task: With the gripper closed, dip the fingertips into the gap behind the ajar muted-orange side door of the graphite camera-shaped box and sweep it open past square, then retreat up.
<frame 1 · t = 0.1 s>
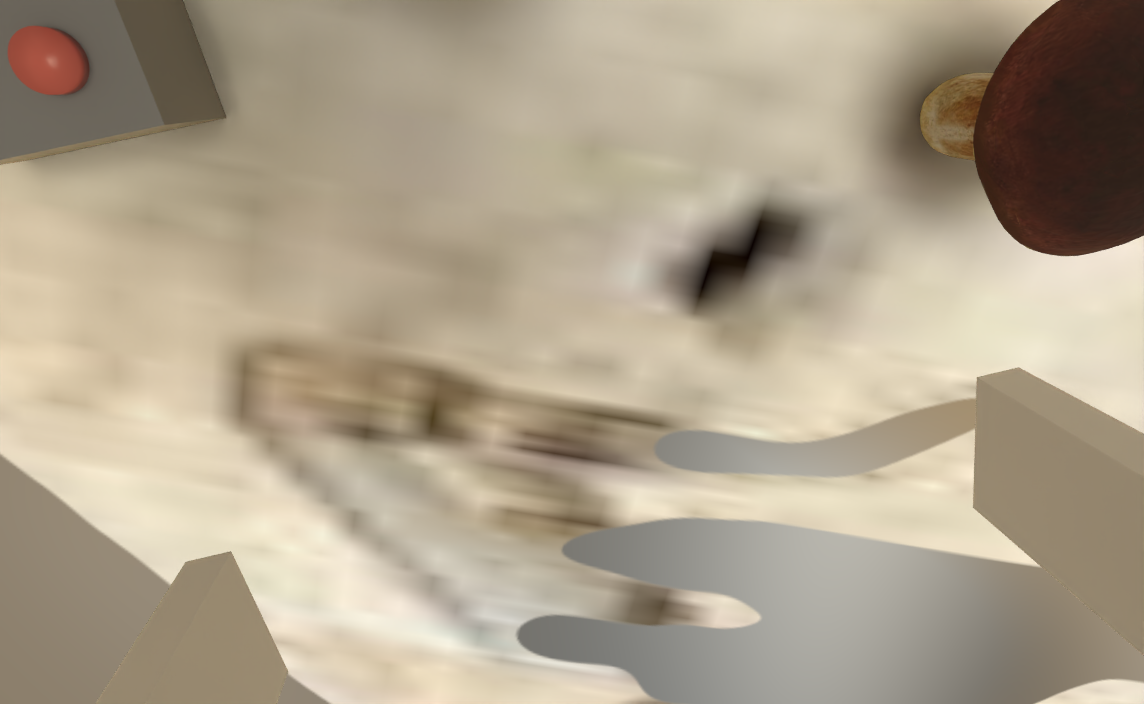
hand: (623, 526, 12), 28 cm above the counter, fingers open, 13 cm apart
decorative mushroom: (941, 114, 39), on the counter
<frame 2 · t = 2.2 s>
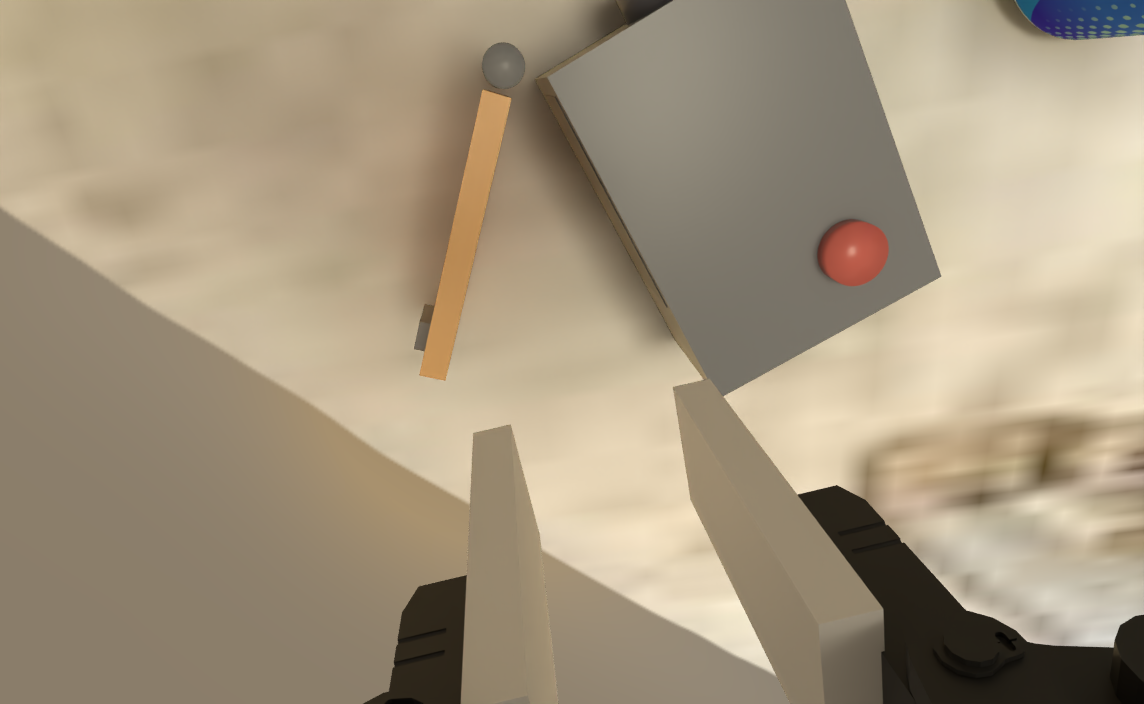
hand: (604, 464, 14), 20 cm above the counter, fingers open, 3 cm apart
camera body: (705, 165, 32), on the counter
side door: (466, 209, 27), point 4 cm above the counter, hinge at 45.0°
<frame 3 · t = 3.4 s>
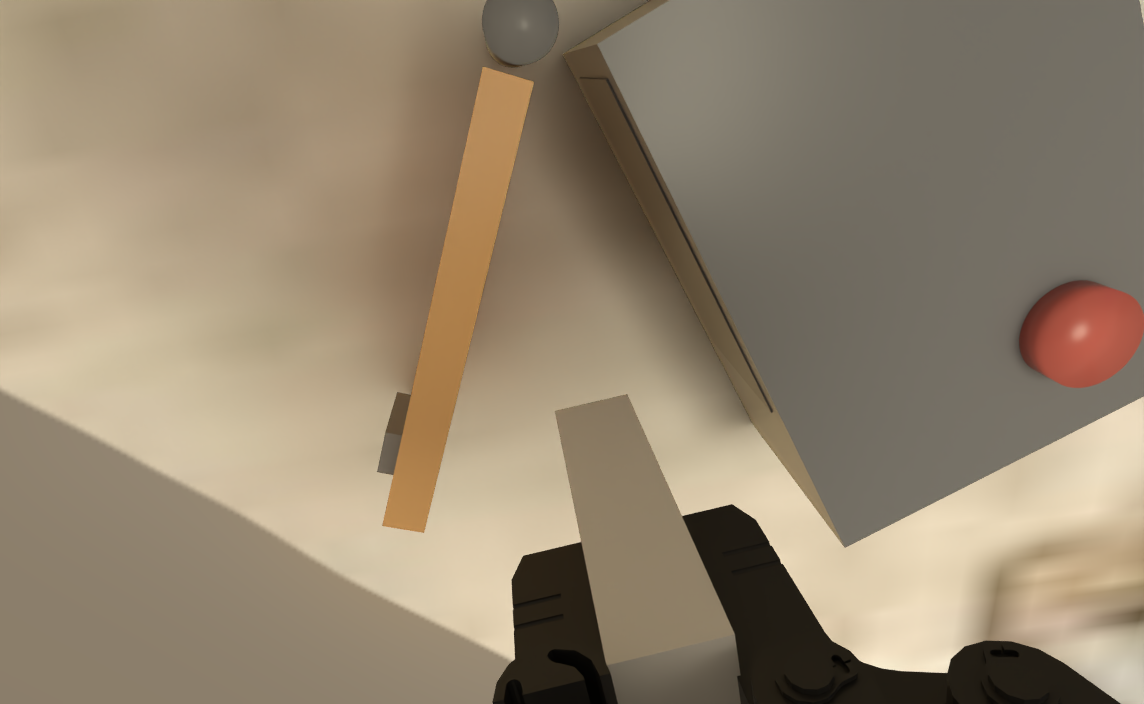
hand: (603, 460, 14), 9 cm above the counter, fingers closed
camera body: (809, 181, 22), on the counter
side door: (458, 258, 17), point 4 cm above the counter, hinge at 45.0°
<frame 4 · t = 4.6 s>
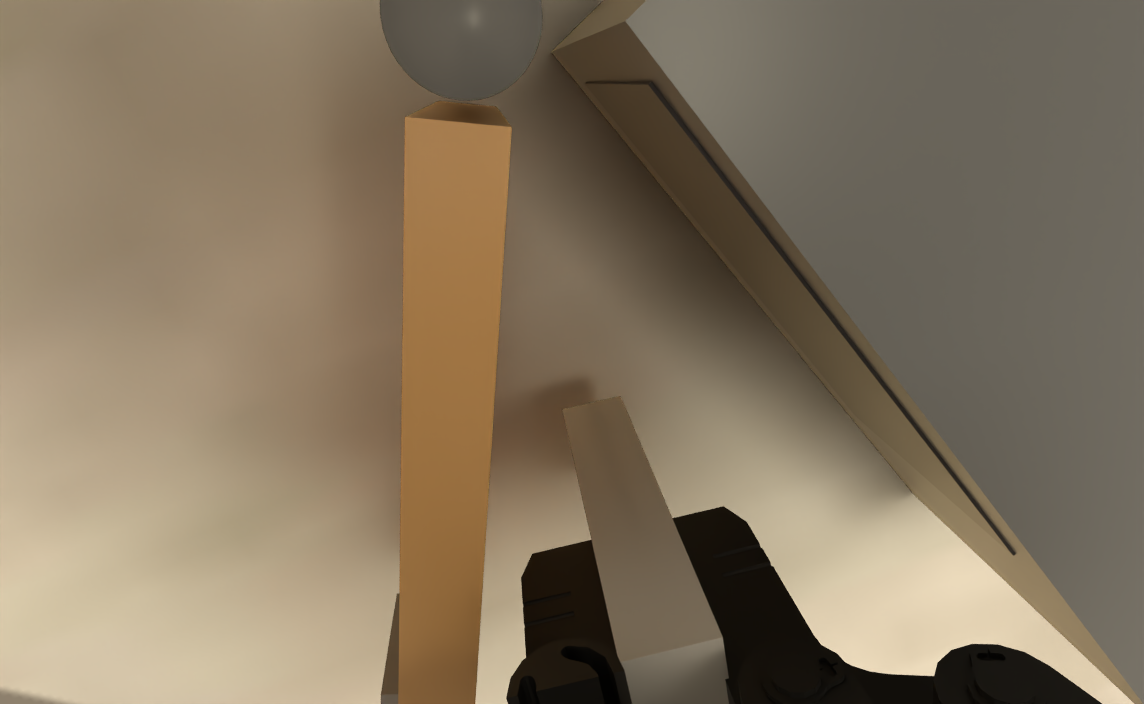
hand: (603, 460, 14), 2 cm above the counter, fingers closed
camera body: (947, 152, 15), on the counter
side door: (444, 410, 11), point 4 cm above the counter, hinge at 47.4°, touching gripper
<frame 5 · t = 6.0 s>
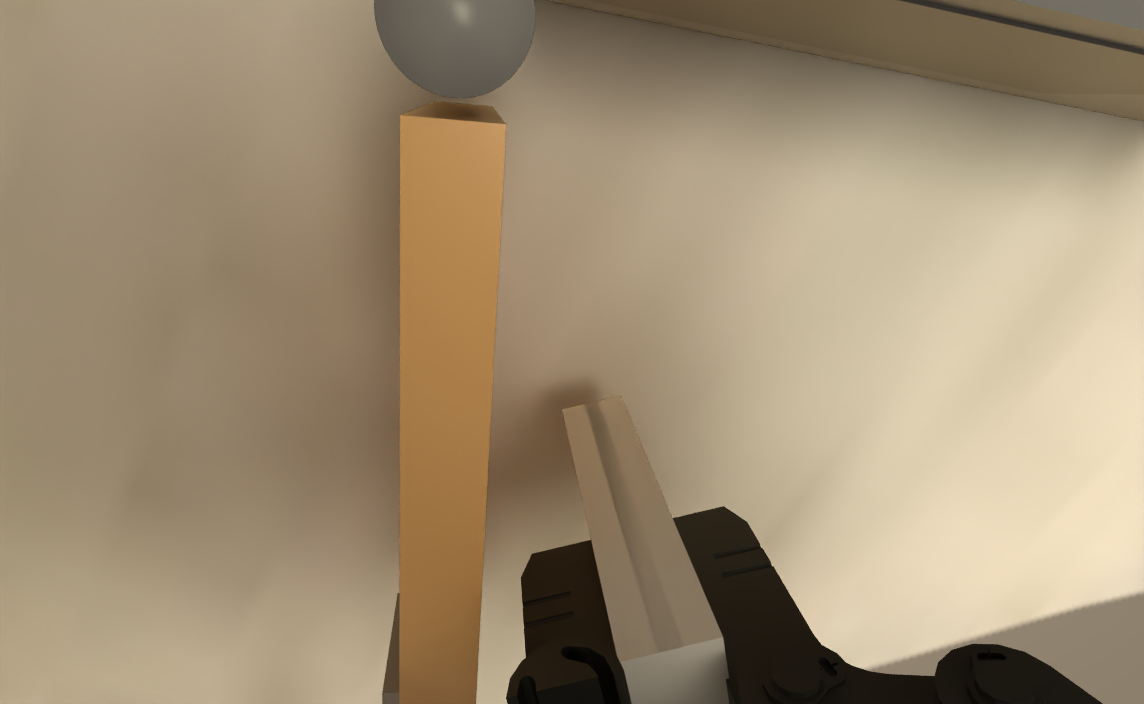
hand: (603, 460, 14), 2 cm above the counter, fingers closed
side door: (443, 408, 11), point 4 cm above the counter, hinge at 85.7°, touching gripper
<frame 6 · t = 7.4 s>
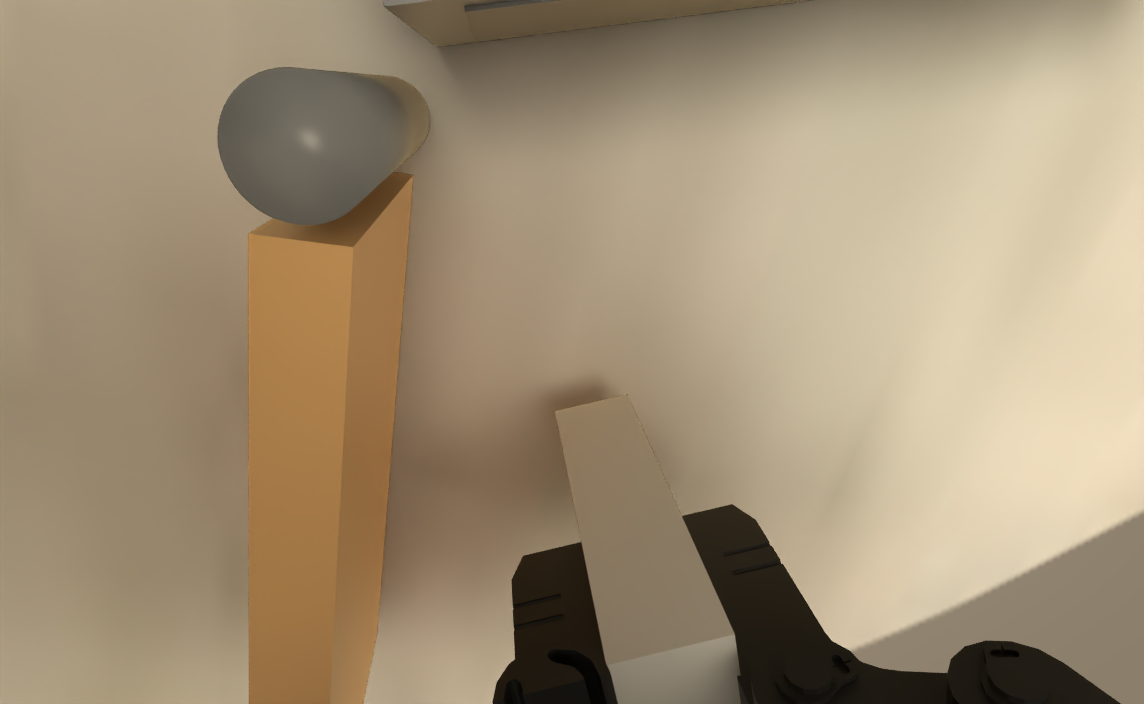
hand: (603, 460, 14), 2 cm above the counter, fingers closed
side door: (333, 473, 11), point 4 cm above the counter, hinge at 106.0°
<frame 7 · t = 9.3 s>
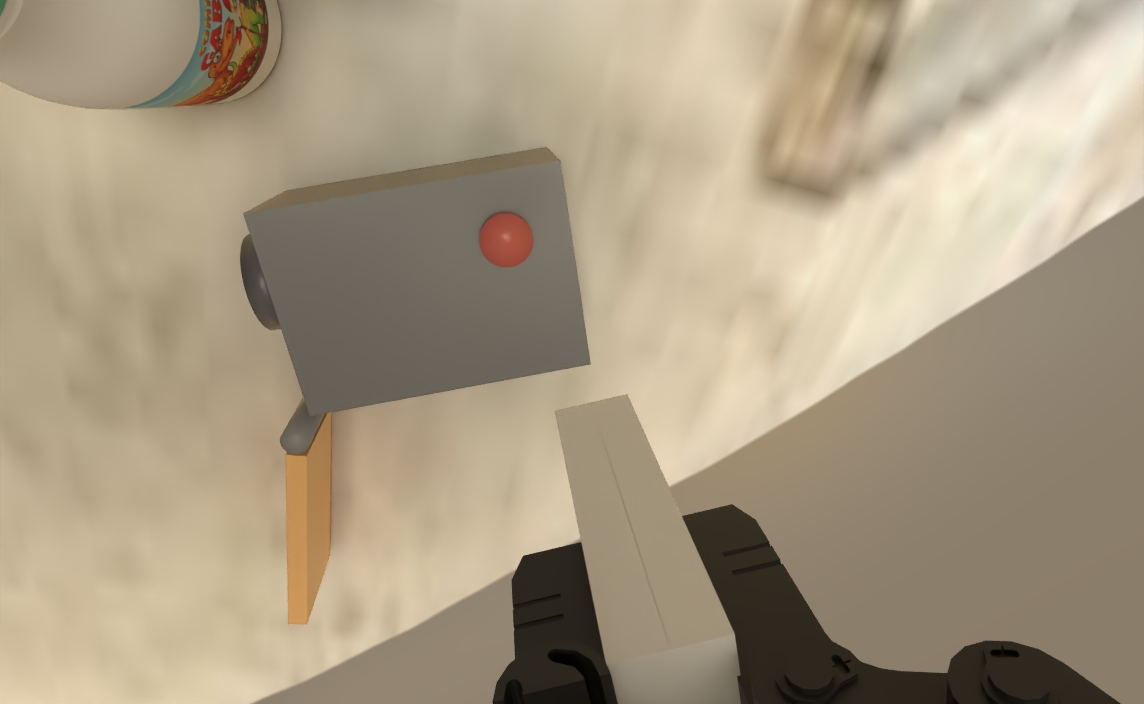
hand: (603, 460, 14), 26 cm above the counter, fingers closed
camera body: (438, 259, 39), on the counter
side door: (307, 499, 39), point 4 cm above the counter, hinge at 106.1°
milk bottle: (203, 19, 33), on the counter
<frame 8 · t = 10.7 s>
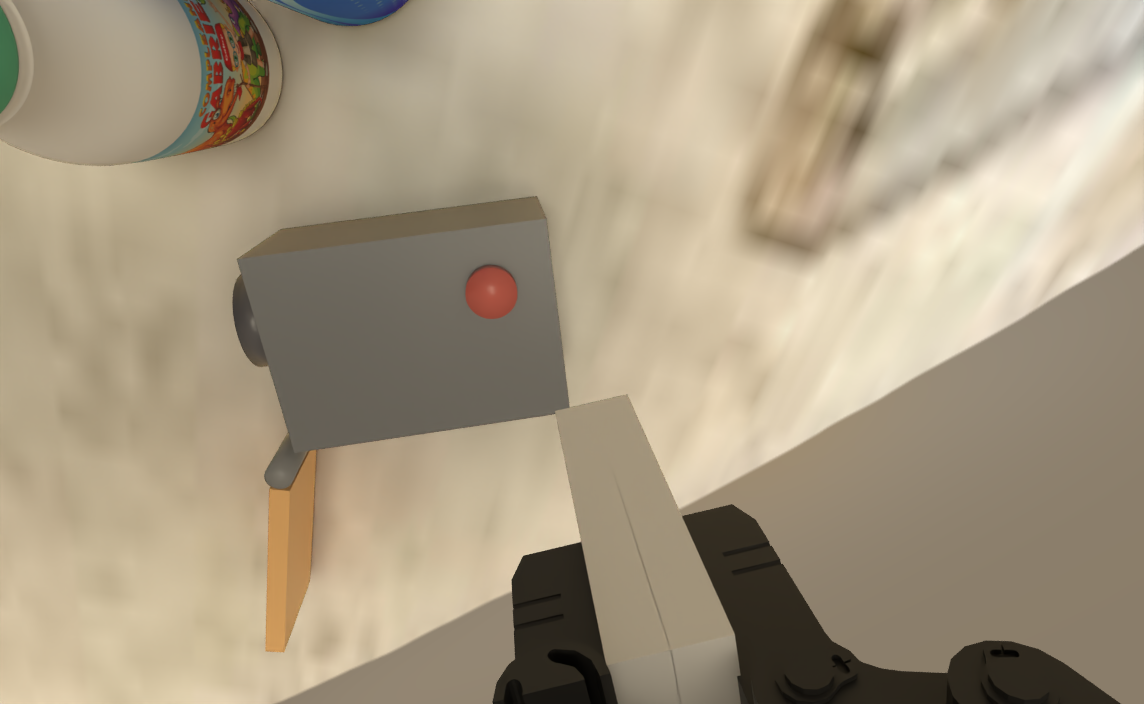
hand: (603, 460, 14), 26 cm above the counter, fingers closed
camera body: (427, 299, 40), on the counter
side door: (290, 528, 39), point 4 cm above the counter, hinge at 106.1°
milk bottle: (206, 63, 34), on the counter
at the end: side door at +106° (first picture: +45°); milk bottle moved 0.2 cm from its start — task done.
